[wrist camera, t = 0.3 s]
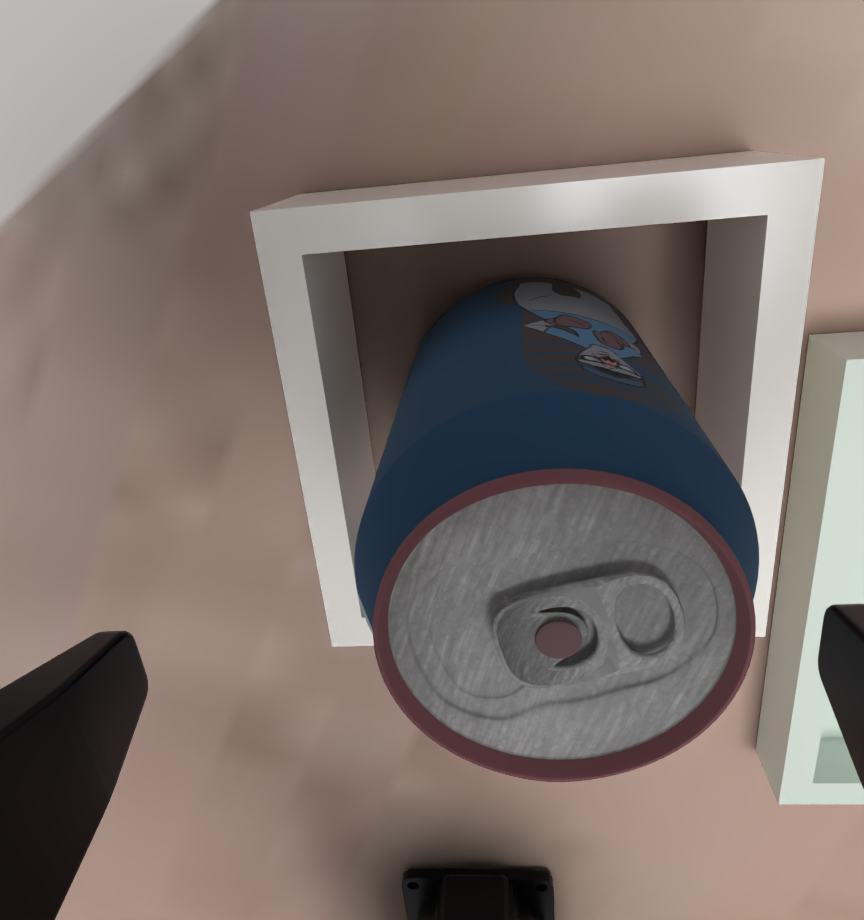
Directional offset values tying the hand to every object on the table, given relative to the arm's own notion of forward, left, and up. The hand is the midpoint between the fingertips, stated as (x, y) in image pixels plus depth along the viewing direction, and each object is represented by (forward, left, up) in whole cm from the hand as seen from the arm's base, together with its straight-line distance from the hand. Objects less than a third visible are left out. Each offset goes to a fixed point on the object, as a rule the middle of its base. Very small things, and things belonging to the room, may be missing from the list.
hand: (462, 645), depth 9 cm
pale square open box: (-1, -1, -13) cm, 13 cm away
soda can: (-1, -1, -14) cm, 14 cm away
